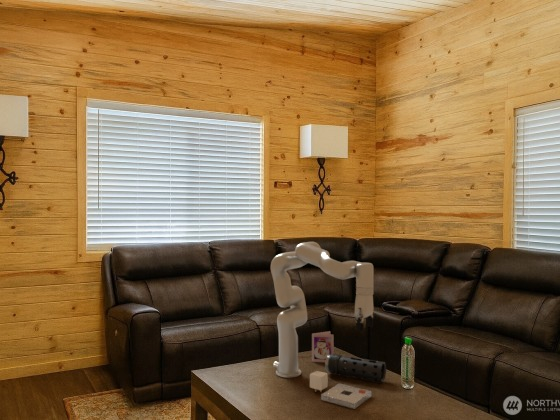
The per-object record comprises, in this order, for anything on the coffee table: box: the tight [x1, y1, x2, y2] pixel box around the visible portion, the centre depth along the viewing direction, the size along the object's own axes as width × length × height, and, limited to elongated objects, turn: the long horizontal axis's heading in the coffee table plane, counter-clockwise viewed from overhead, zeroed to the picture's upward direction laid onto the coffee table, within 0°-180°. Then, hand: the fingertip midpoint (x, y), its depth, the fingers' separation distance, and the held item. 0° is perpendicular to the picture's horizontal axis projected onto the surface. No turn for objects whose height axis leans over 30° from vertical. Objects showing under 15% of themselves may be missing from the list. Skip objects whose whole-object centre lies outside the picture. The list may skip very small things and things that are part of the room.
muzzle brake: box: [324, 353, 387, 384], centre depth 241 cm, size 10×28×10 cm, turn 62°
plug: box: [307, 370, 329, 393], centre depth 225 cm, size 8×6×8 cm
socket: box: [320, 383, 372, 410], centre depth 217 cm, size 16×16×3 cm
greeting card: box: [311, 330, 335, 363], centre depth 267 cm, size 11×7×15 cm, turn 81°
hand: (364, 329), depth 221 cm, fingers open, 9 cm apart
